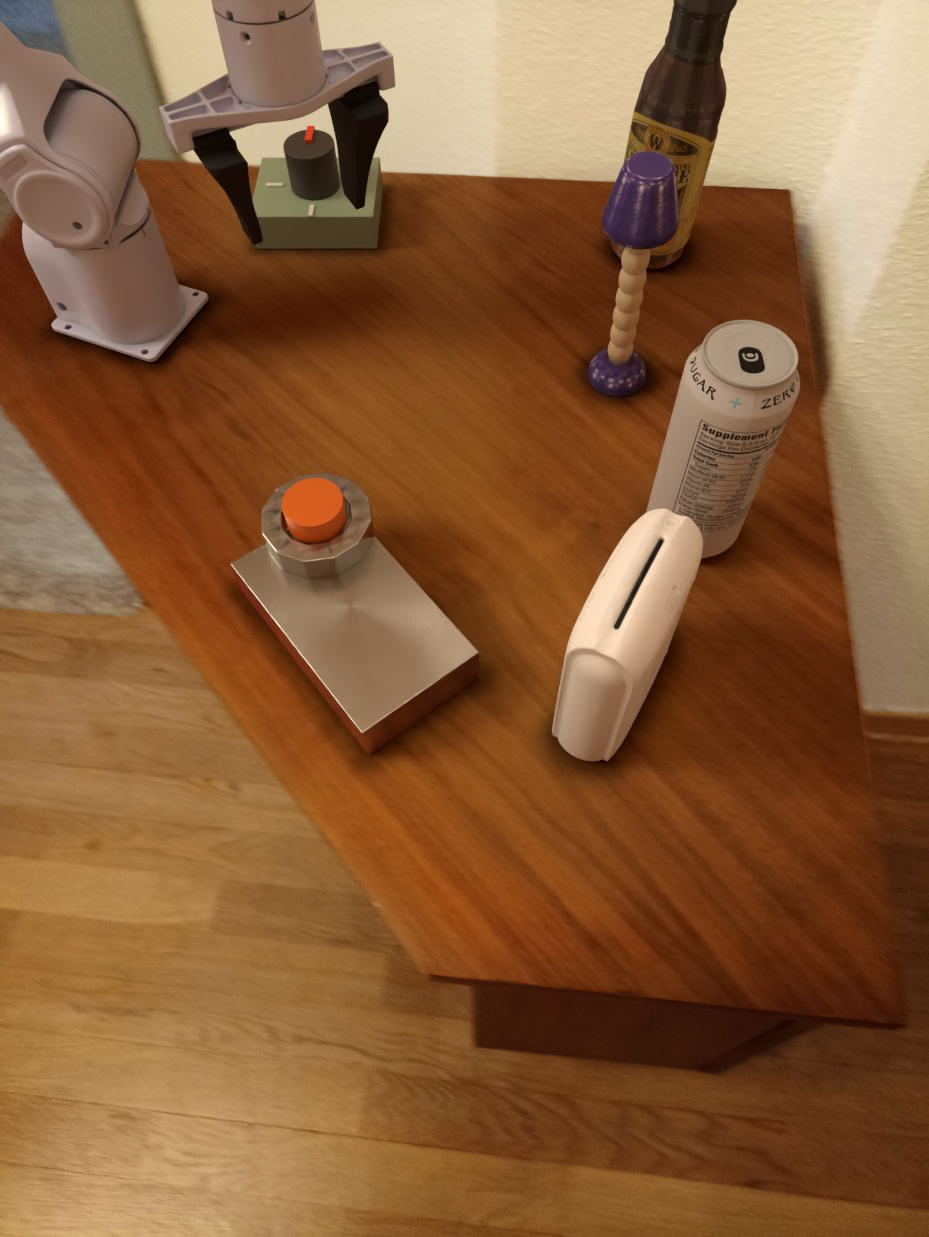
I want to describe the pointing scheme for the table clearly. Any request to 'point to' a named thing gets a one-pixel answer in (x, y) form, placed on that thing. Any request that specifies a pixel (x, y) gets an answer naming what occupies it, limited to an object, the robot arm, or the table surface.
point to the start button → (314, 510)
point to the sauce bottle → (683, 108)
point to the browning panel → (314, 212)
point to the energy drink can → (726, 427)
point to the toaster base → (355, 621)
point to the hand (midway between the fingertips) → (304, 217)
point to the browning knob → (312, 164)
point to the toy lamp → (634, 261)
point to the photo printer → (625, 633)
